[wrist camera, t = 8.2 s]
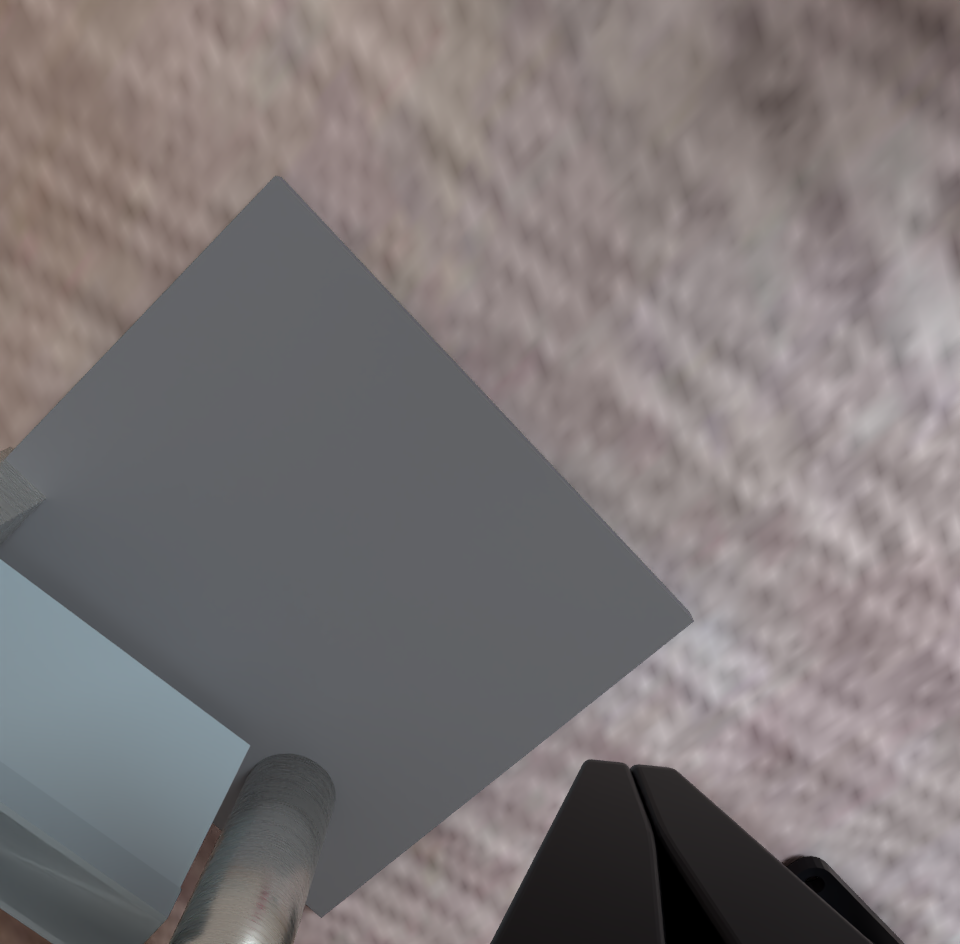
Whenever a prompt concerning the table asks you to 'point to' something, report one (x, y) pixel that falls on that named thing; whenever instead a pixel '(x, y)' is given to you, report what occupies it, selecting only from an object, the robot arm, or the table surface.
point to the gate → (96, 777)
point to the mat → (329, 538)
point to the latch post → (15, 497)
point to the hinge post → (263, 857)
